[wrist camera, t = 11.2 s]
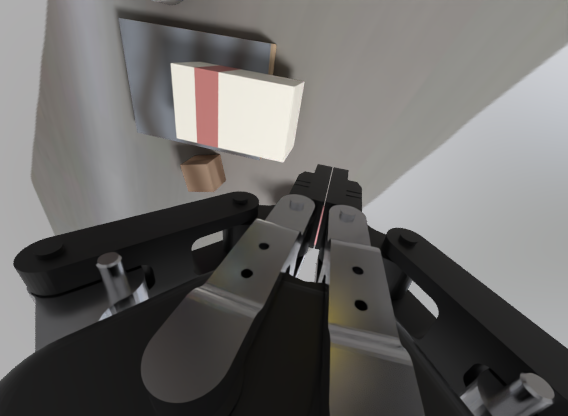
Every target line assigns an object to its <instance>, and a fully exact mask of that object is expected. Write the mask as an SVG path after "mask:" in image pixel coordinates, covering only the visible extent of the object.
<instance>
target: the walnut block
mask: <svg viewBox="0 0 568 416" xmlns="http://www.w3.org/2000/svg"><path fill="white" fill-rule="evenodd" d="M180 166H181V169H182V172H183V175H184V178H185V181H186V185H187V188H188V191H189V192H214V191H215V190H217V189H218V188H219V187H220V186H221V185H222V184H223V183H224V182H225V181H226V178H225V174H224V170H223V165H222V161H221V157H220V155H195V156H194V157H192V158H190V159H189V160H187V161H186V162H184V163H183V164H181V165H180Z"/></svg>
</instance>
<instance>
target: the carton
mask: <svg viewBox="0 0 568 416" xmlns="http://www.w3.org/2000/svg"><path fill="white" fill-rule="evenodd" d="M171 74H172V87H173V99H174V111H175V124H176V136H177V138H178V139H182V140H187V141H191V142H195V143H199V144H203V145H208V146H212V147H217V148H222V149H226V150H231V151H235V152H239V153H244V154H248V155H253V156H257V157H261V158H266V159H270V160H275V161H279V162H284V160H285V159H286V157H287V156H288V154H289V153H290V151H291V150H292V148H293V146H294V141H295V135H296V129H297V123H298V117H299V112H300V106H301V100H302V94H303V88H304V82H305V81H300V80H295V79H290V78H284V77H279V76H274V75H268V74H263V73H258V72H252V71H247V70H242V69H237V68H232V67H227V66H221V65H215V64H210V63H205V62H183V63H171Z"/></svg>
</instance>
